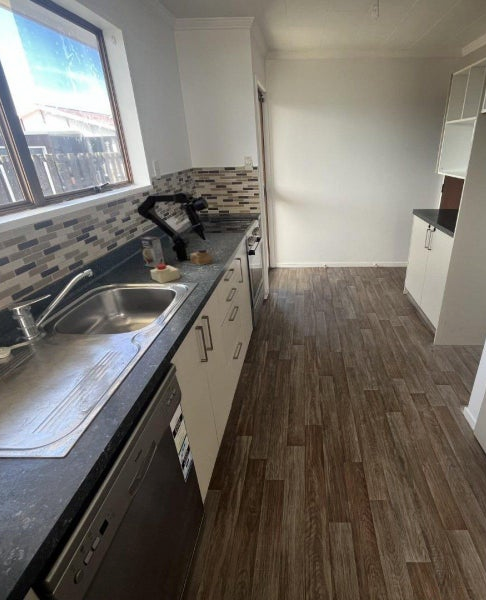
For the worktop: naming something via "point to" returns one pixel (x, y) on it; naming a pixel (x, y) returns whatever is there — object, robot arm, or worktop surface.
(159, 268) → the knob
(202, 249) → the knob
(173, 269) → the cream block
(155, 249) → the coffee box
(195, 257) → the oak block
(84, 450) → the worktop surface
